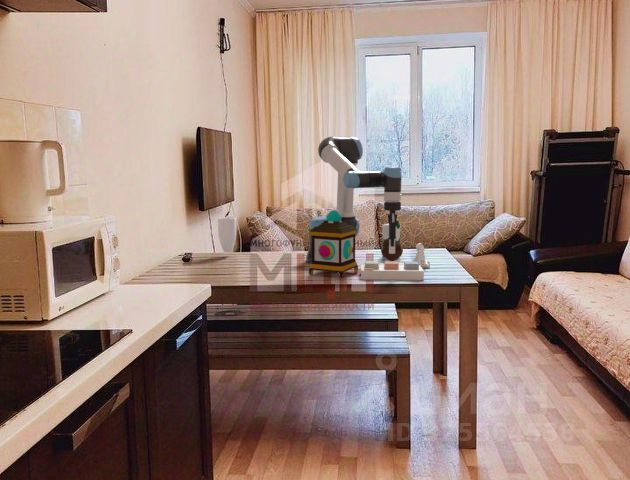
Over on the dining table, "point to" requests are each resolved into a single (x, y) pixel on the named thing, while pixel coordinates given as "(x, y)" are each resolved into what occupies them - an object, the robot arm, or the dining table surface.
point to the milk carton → (386, 232)
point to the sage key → (372, 264)
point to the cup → (227, 232)
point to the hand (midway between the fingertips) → (392, 253)
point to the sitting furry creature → (421, 256)
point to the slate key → (411, 265)
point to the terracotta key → (391, 265)
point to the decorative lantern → (333, 245)
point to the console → (392, 273)
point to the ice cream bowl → (386, 251)
